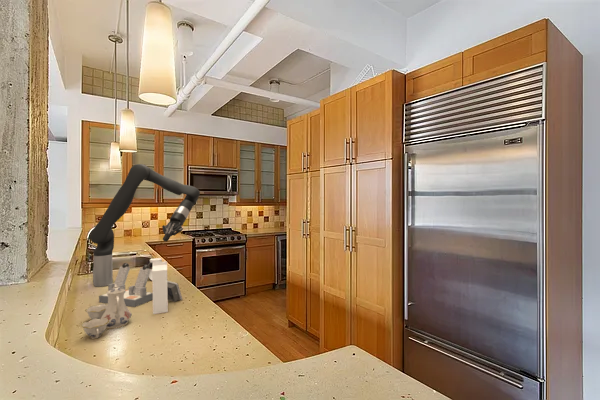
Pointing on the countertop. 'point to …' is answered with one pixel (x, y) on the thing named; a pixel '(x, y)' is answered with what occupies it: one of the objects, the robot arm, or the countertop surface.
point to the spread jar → (151, 265)
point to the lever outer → (141, 279)
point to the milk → (159, 287)
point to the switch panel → (130, 296)
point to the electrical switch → (173, 291)
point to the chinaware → (107, 314)
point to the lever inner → (122, 275)
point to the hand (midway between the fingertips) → (164, 240)
